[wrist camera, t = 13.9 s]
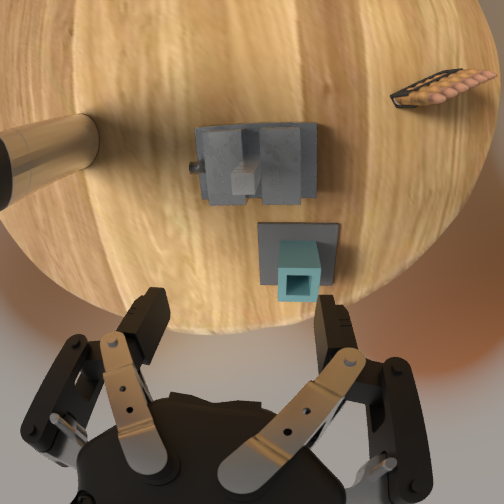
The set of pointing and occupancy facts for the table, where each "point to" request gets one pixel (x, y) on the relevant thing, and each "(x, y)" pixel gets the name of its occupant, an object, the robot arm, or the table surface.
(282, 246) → the sleeve
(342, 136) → the table surface
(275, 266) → the mat
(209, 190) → the vise
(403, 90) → the ammunition clip
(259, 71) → the table surface
